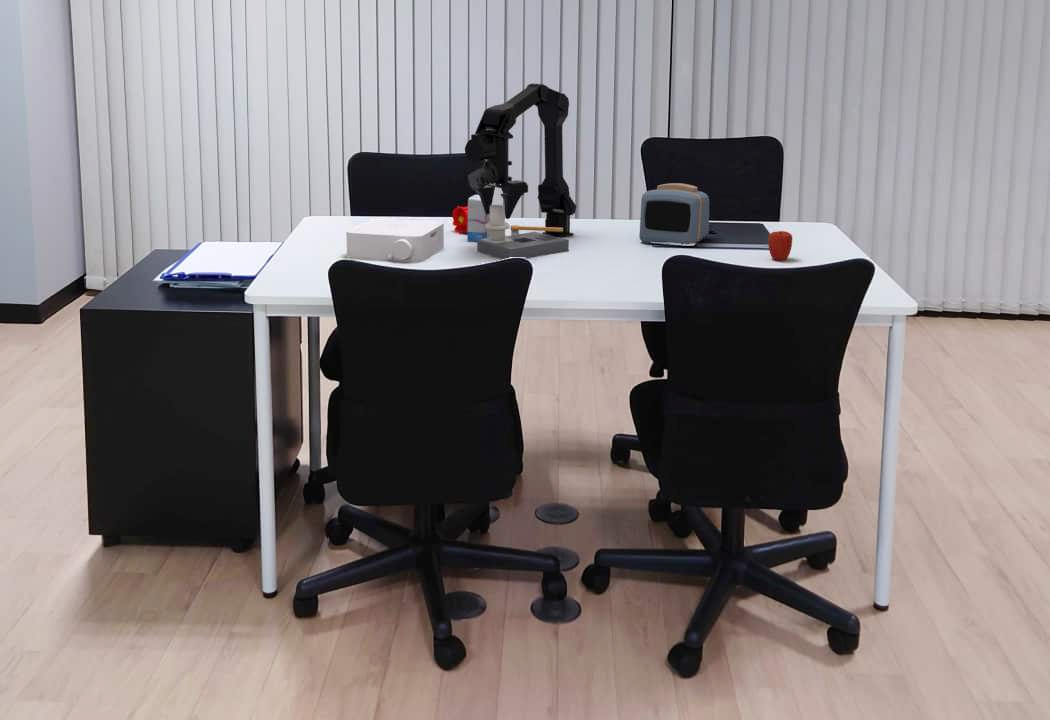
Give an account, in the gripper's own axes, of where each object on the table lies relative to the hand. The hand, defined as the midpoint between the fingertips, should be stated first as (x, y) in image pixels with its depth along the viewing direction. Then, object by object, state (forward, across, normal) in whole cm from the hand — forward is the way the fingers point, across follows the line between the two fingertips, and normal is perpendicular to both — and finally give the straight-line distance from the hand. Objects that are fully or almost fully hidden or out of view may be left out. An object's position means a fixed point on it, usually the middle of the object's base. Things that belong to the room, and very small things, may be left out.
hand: (497, 216), depth 360 cm
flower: (+10, -26, +11) cm, 30 cm away
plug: (+6, 0, 0) cm, 6 cm away
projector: (+10, -16, -22) cm, 28 cm away
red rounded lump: (+10, +53, +52) cm, 75 cm away
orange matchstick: (+5, +1, +12) cm, 13 cm away
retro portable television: (+10, +19, +48) cm, 52 cm away
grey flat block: (+9, +4, +6) cm, 12 cm away
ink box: (+10, -16, +6) cm, 20 cm away
